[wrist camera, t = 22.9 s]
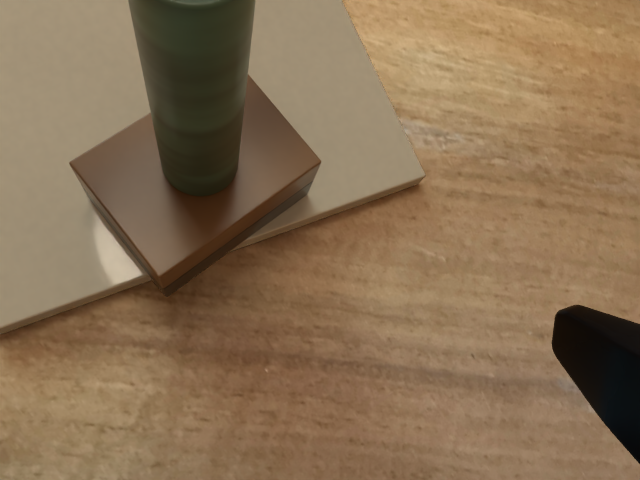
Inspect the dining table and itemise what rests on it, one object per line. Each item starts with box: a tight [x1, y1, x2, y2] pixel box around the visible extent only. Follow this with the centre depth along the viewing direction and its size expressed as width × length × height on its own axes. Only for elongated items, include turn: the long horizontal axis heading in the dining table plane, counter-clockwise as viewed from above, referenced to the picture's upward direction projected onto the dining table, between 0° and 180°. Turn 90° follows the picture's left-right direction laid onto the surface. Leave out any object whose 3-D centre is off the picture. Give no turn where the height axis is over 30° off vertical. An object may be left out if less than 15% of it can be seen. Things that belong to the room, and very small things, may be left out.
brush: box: [69, 0, 321, 297], centre depth 18 cm, size 5×7×13 cm
